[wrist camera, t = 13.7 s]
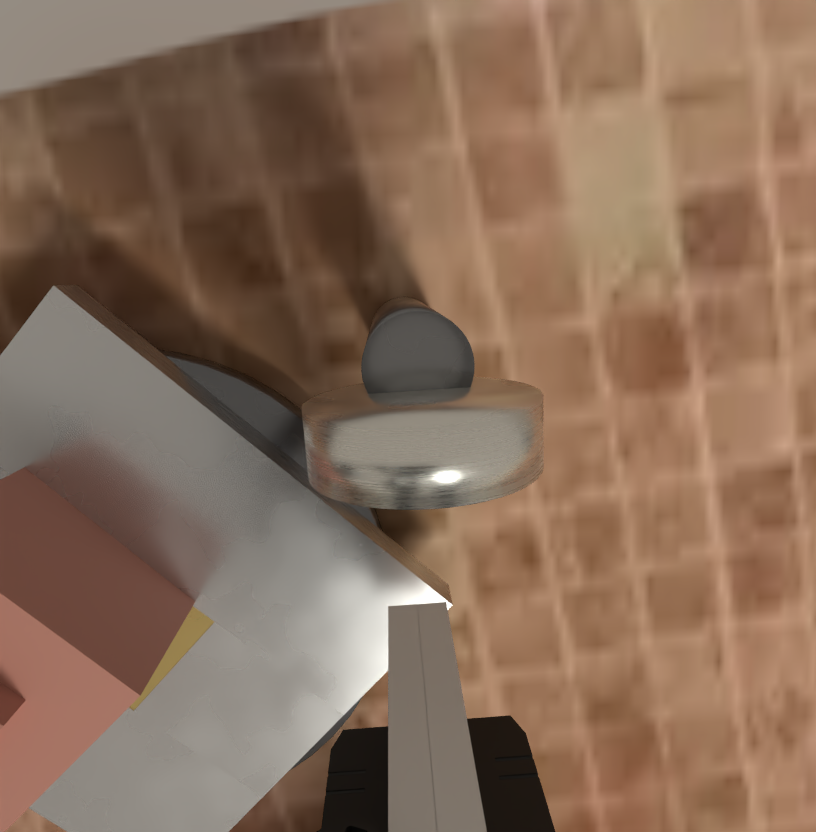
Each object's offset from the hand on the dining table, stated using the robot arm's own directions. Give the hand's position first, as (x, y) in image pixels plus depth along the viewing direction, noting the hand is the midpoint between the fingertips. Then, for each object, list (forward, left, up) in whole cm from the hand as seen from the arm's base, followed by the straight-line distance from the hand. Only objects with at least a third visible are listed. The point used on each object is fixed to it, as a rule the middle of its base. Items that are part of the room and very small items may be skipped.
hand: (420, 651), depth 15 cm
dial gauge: (0, +8, -5) cm, 9 cm away
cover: (-11, +1, -2) cm, 11 cm away
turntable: (-9, 0, -4) cm, 9 cm away
